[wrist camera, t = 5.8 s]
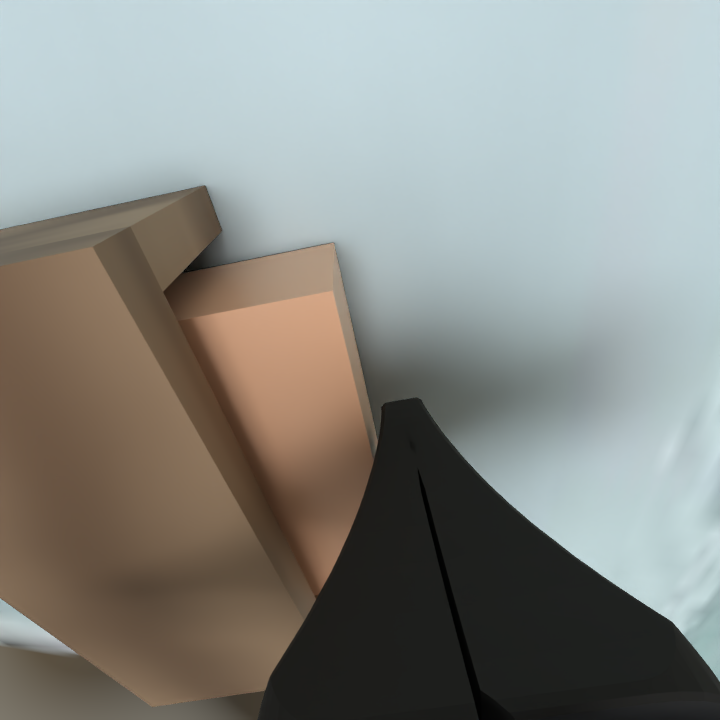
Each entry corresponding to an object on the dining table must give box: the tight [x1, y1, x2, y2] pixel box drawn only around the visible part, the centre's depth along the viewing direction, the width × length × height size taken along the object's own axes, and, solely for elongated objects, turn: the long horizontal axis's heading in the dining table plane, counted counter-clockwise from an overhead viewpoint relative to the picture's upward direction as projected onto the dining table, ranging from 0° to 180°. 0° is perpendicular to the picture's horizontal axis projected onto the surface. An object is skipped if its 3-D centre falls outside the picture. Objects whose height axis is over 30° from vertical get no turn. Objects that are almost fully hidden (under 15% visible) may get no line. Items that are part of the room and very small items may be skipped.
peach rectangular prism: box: [163, 243, 378, 596], centre depth 11 cm, size 7×10×3 cm
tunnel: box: [0, 186, 318, 707], centre depth 10 cm, size 6×14×5 cm, turn 10°
